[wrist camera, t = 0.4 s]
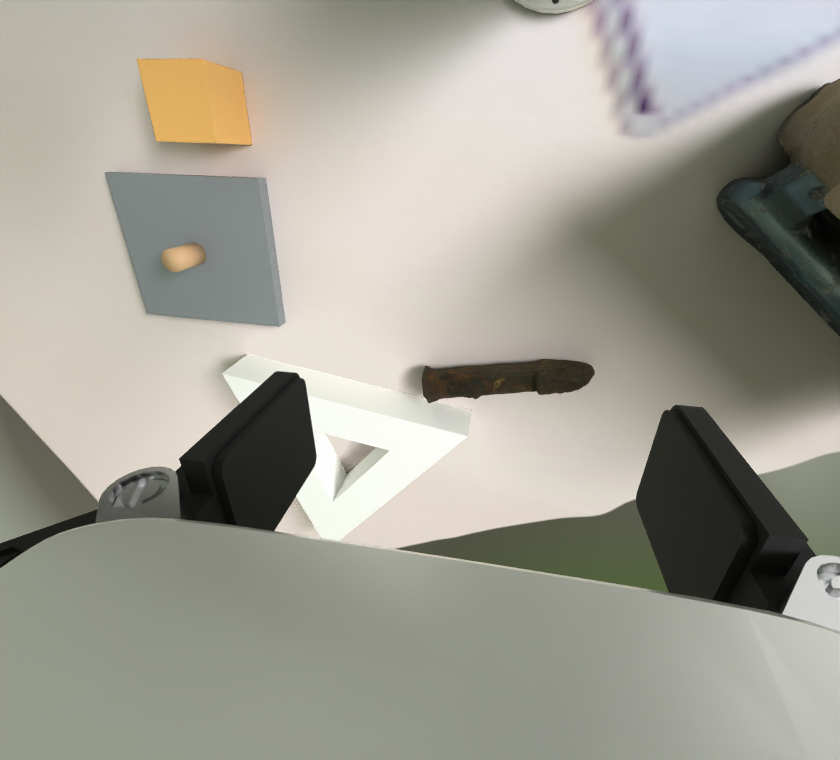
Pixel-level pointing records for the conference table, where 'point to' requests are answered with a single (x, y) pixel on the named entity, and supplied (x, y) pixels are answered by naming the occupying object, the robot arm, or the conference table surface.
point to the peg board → (201, 245)
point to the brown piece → (506, 379)
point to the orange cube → (195, 101)
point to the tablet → (799, 205)
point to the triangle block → (359, 440)
